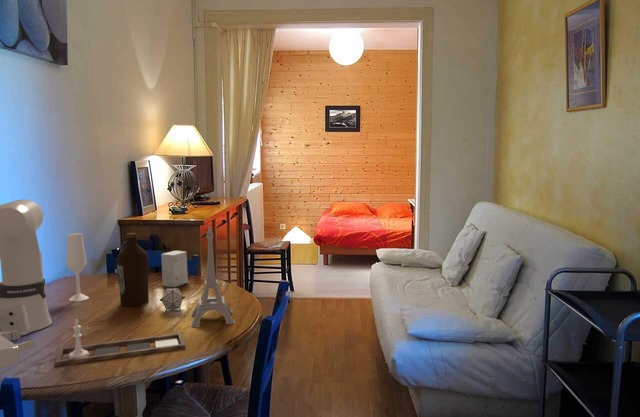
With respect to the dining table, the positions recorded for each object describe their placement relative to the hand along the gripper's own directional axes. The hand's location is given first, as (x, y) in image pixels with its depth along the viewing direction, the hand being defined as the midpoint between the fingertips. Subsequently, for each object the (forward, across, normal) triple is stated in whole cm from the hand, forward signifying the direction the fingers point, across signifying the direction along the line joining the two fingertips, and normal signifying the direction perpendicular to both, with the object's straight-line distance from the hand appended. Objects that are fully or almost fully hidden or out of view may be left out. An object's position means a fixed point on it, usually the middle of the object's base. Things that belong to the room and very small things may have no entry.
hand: (26, 338), depth 129 cm
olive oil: (+47, -34, -9) cm, 59 cm away
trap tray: (+22, +5, -8) cm, 24 cm away
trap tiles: (+22, +5, -8) cm, 24 cm away
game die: (+51, -16, -9) cm, 54 cm away
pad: (+32, +10, -9) cm, 35 cm away
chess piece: (+12, 0, -9) cm, 15 cm away
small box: (+71, -46, -9) cm, 85 cm away
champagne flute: (+36, -55, -8) cm, 66 cm away
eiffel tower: (+54, +1, -9) cm, 55 cm away
